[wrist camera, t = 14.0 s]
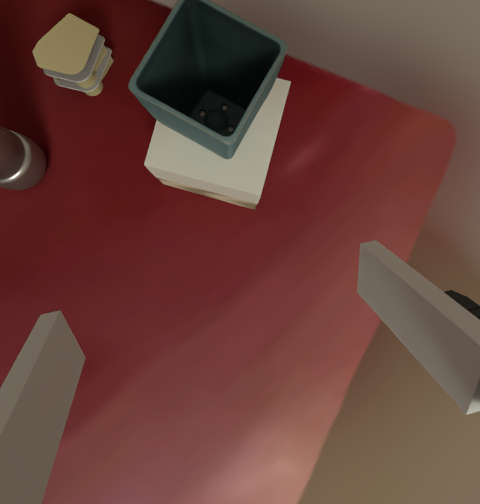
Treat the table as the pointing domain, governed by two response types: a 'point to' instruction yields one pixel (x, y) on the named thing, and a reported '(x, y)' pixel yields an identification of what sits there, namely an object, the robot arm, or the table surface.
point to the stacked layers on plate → (74, 55)
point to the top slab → (212, 165)
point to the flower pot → (208, 74)
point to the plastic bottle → (20, 161)
